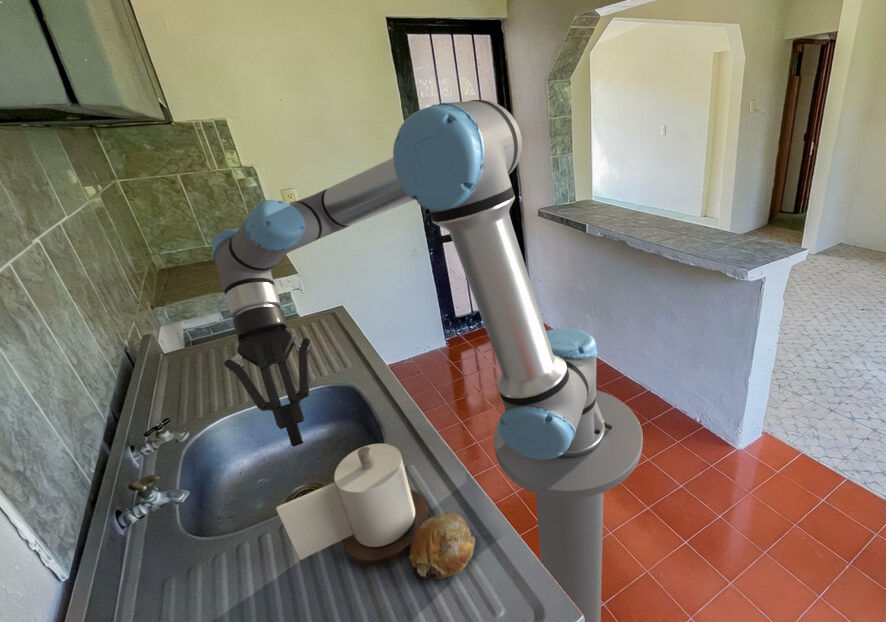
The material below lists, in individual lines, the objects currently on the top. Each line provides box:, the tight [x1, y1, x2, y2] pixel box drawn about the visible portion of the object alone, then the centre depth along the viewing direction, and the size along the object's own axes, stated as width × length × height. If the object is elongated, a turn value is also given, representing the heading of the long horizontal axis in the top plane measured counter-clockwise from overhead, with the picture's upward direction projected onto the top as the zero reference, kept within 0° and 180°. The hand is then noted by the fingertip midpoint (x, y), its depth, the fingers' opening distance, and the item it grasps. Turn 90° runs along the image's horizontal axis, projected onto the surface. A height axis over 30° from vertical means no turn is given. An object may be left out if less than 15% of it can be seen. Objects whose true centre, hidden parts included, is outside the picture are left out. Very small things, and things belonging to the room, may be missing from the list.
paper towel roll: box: [275, 443, 415, 561], centre depth 73 cm, size 18×10×12 cm, turn 106°
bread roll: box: [407, 511, 476, 580], centre depth 72 cm, size 10×10×8 cm
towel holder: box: [340, 446, 430, 567], centre depth 74 cm, size 14×14×18 cm
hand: (297, 443), depth 73 cm, fingers closed
